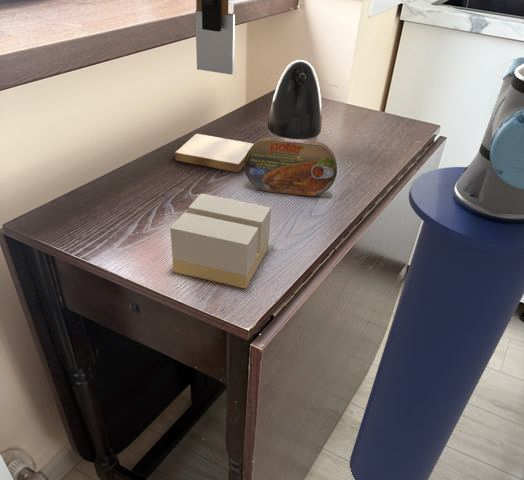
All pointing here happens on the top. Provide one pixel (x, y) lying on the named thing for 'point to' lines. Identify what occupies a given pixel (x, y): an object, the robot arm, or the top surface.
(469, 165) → the robot arm
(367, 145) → the top surface
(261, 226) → the slotted card holder
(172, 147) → the top surface
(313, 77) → the black white dome
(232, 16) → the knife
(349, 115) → the top surface
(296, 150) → the tin
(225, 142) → the board
